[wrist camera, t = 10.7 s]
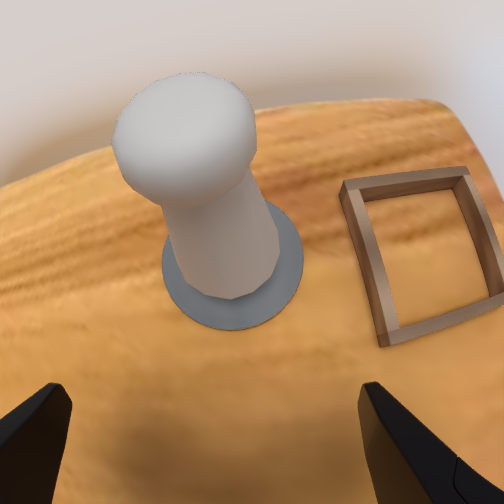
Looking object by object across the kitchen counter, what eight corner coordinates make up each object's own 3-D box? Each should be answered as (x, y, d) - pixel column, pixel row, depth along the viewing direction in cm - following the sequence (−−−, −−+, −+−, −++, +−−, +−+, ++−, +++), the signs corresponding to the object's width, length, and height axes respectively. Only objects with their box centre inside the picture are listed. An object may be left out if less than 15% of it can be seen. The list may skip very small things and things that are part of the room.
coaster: (237, 360, 18) (236, 360, 18) (139, 267, 21) (135, 264, 20) (330, 251, 20) (332, 247, 20) (228, 175, 23) (226, 171, 22)
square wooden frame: (499, 304, 18) (515, 299, 16) (379, 347, 18) (390, 345, 16) (455, 178, 22) (466, 165, 20) (338, 195, 22) (343, 180, 20)
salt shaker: (257, 321, 19) (223, 236, 6) (172, 286, 20) (43, 172, 7) (292, 234, 20) (308, 62, 8) (210, 206, 21) (148, 43, 9)
